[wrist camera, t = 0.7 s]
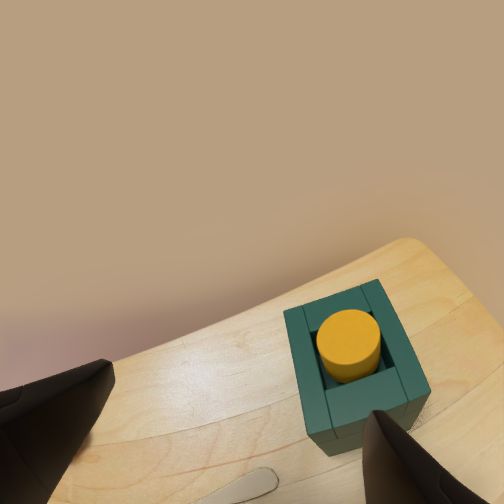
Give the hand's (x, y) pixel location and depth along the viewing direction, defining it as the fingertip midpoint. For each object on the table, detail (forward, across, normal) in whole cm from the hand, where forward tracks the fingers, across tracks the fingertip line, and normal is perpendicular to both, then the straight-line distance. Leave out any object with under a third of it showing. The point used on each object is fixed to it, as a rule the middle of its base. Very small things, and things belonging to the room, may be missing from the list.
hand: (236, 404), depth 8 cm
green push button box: (+12, -9, +10) cm, 18 cm away
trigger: (+8, -6, +3) cm, 11 cm away
